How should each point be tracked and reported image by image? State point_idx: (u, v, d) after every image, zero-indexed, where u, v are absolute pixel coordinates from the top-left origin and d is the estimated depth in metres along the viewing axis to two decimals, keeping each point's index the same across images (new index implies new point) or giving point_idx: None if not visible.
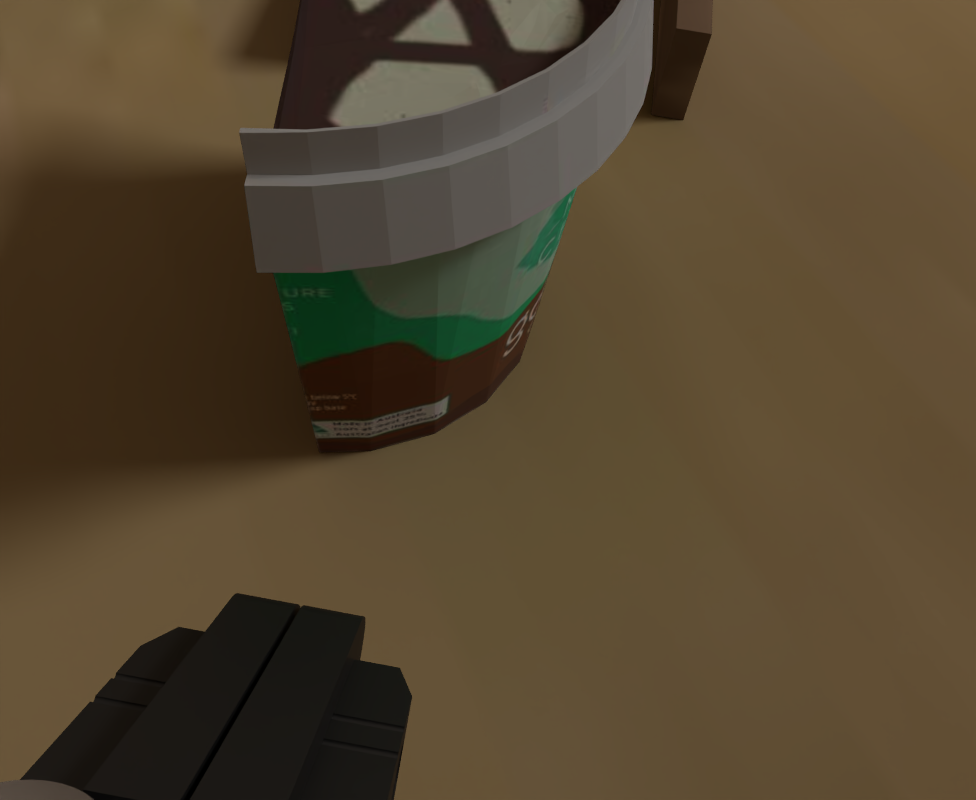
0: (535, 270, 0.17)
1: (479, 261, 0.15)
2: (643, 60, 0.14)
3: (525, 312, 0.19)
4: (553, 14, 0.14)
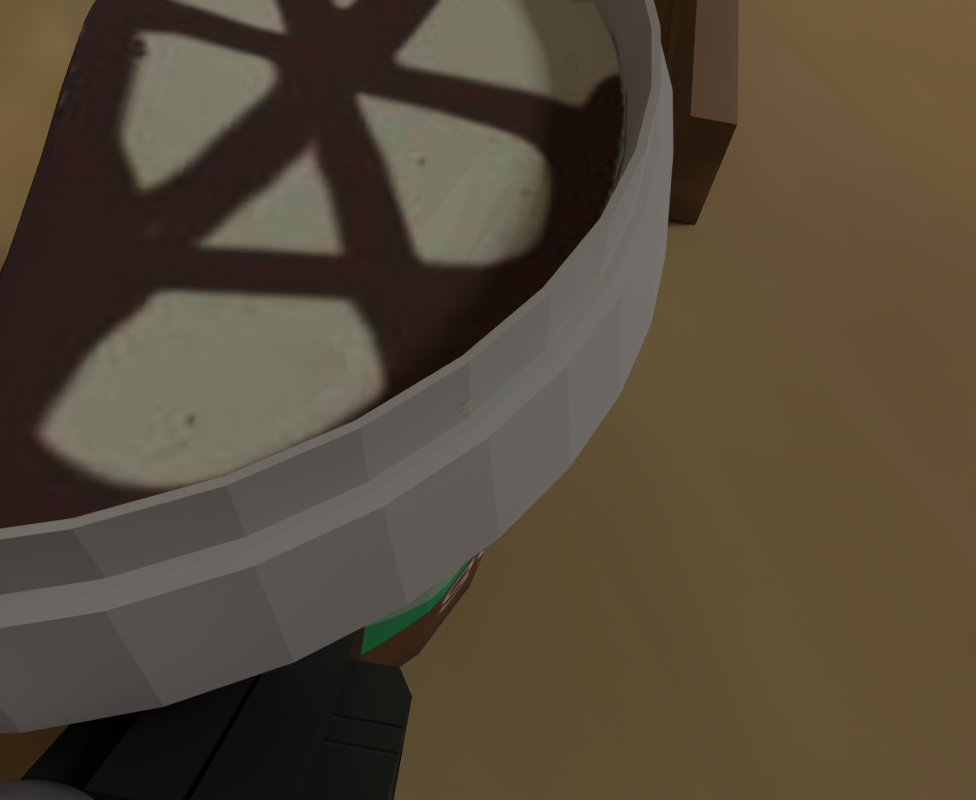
0: None
1: None
2: (653, 268, 0.08)
3: (469, 563, 0.13)
4: (497, 188, 0.08)
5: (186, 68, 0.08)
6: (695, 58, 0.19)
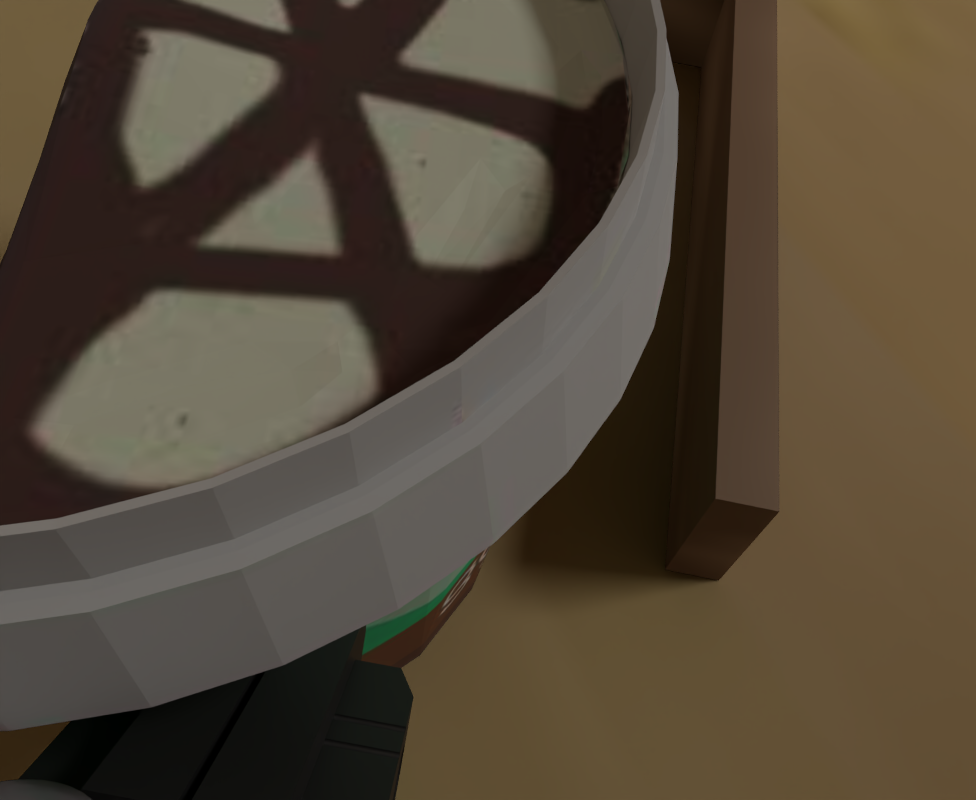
0: None
1: None
2: (655, 273, 0.08)
3: (470, 566, 0.13)
4: (498, 189, 0.08)
5: (189, 67, 0.08)
6: (722, 392, 0.14)
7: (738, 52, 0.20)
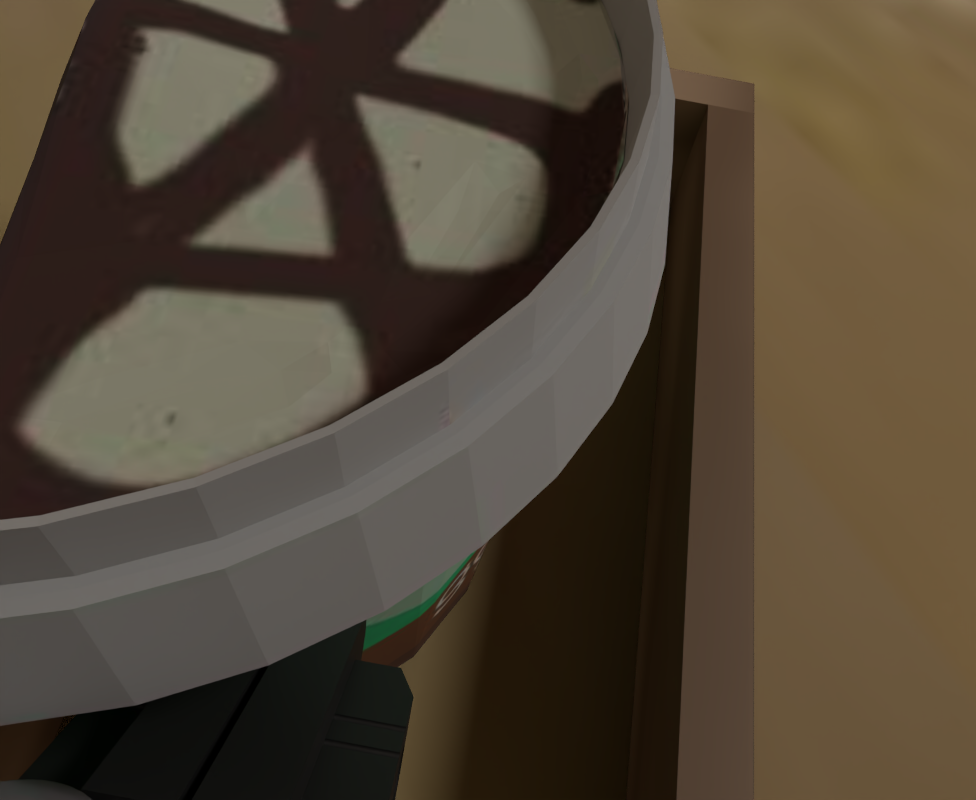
0: None
1: None
2: (648, 277, 0.08)
3: (464, 568, 0.13)
4: (493, 191, 0.08)
5: (185, 66, 0.08)
6: (682, 731, 0.12)
7: (709, 225, 0.17)
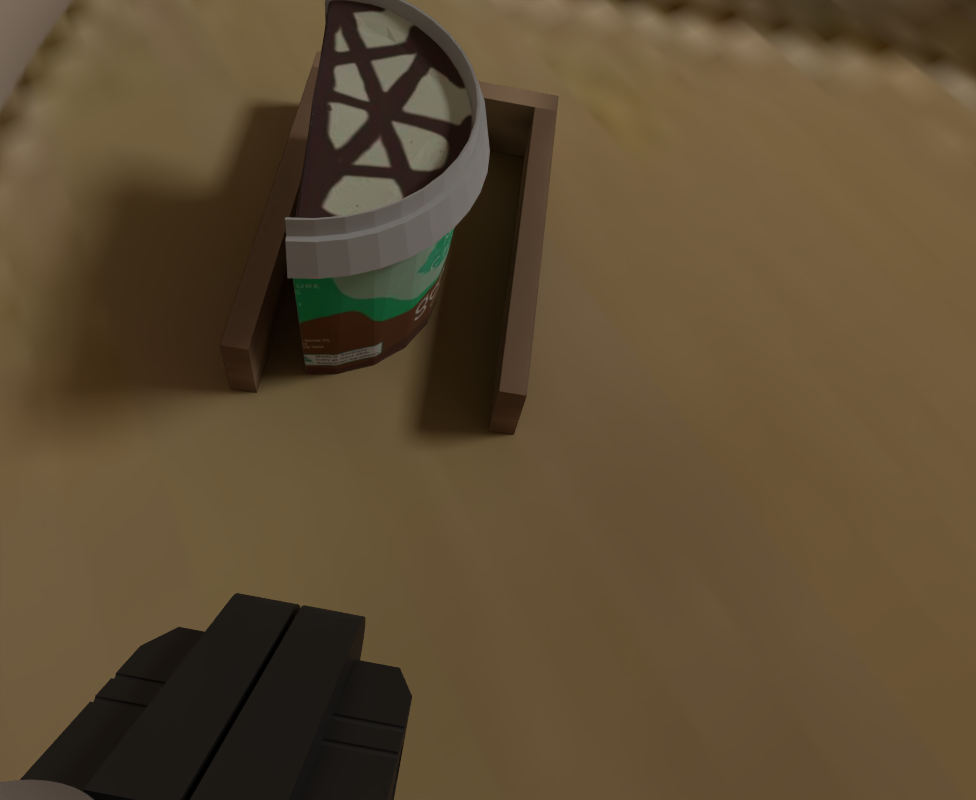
0: (429, 273, 0.31)
1: (395, 271, 0.29)
2: (477, 173, 0.28)
3: (426, 295, 0.33)
4: (433, 149, 0.28)
5: (343, 114, 0.28)
6: (506, 345, 0.32)
7: (530, 164, 0.37)
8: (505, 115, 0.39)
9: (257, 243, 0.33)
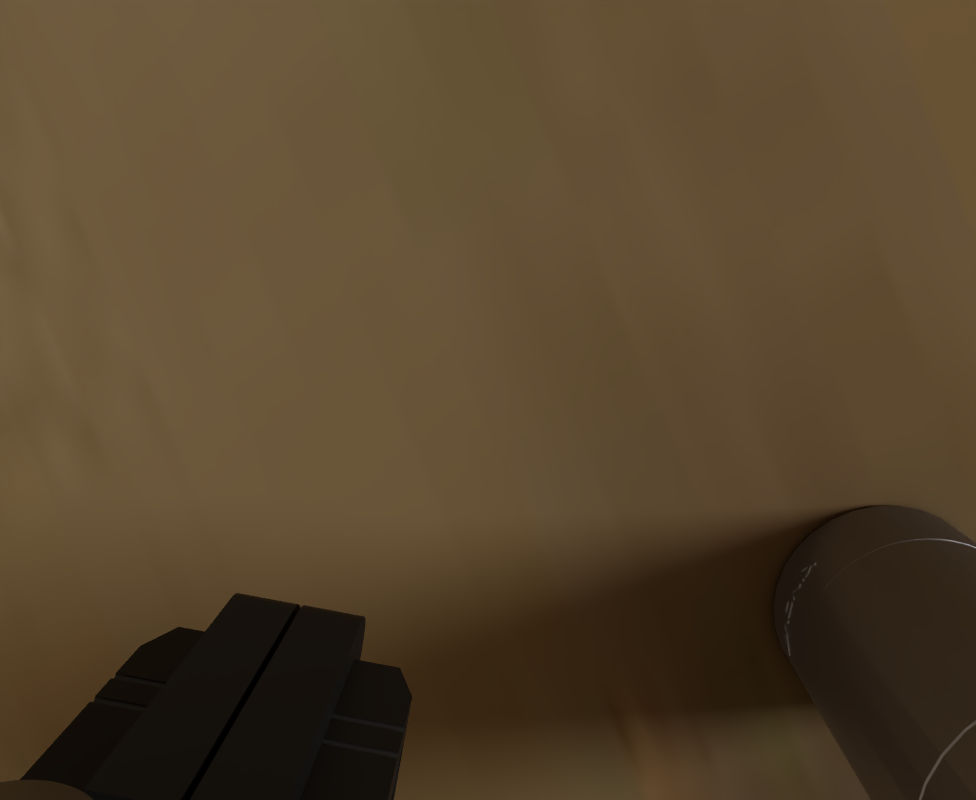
0: None
1: None
2: None
3: None
4: None
5: None
6: None
7: None
8: None
9: None
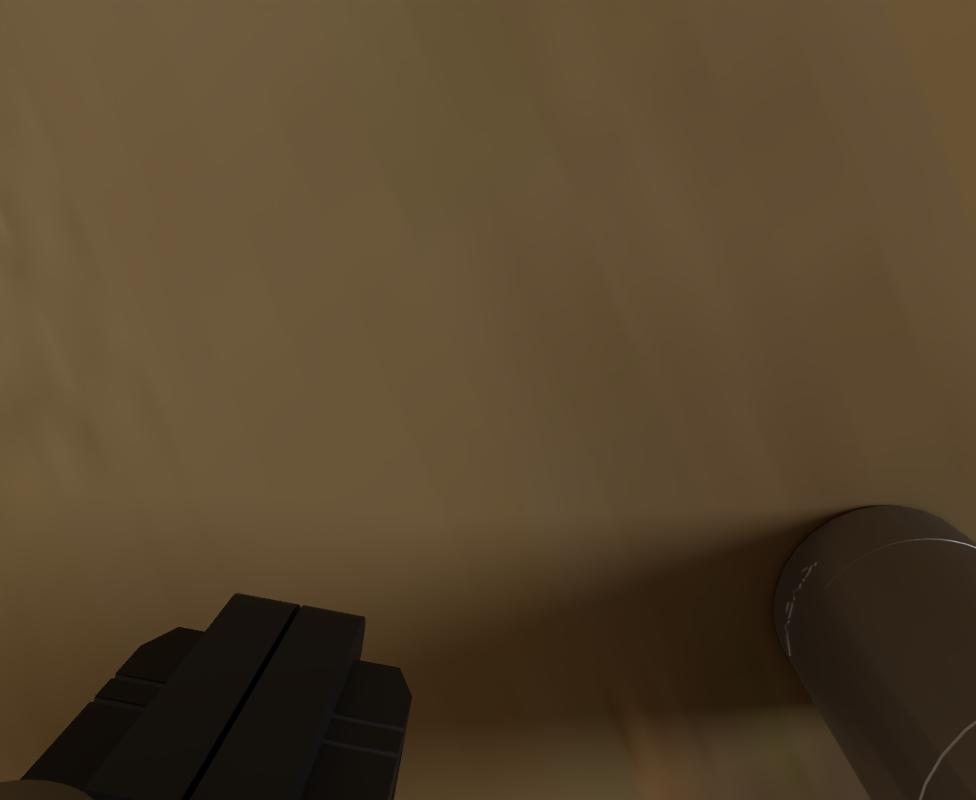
0: None
1: None
2: None
3: None
4: None
5: None
6: None
7: None
8: None
9: None
